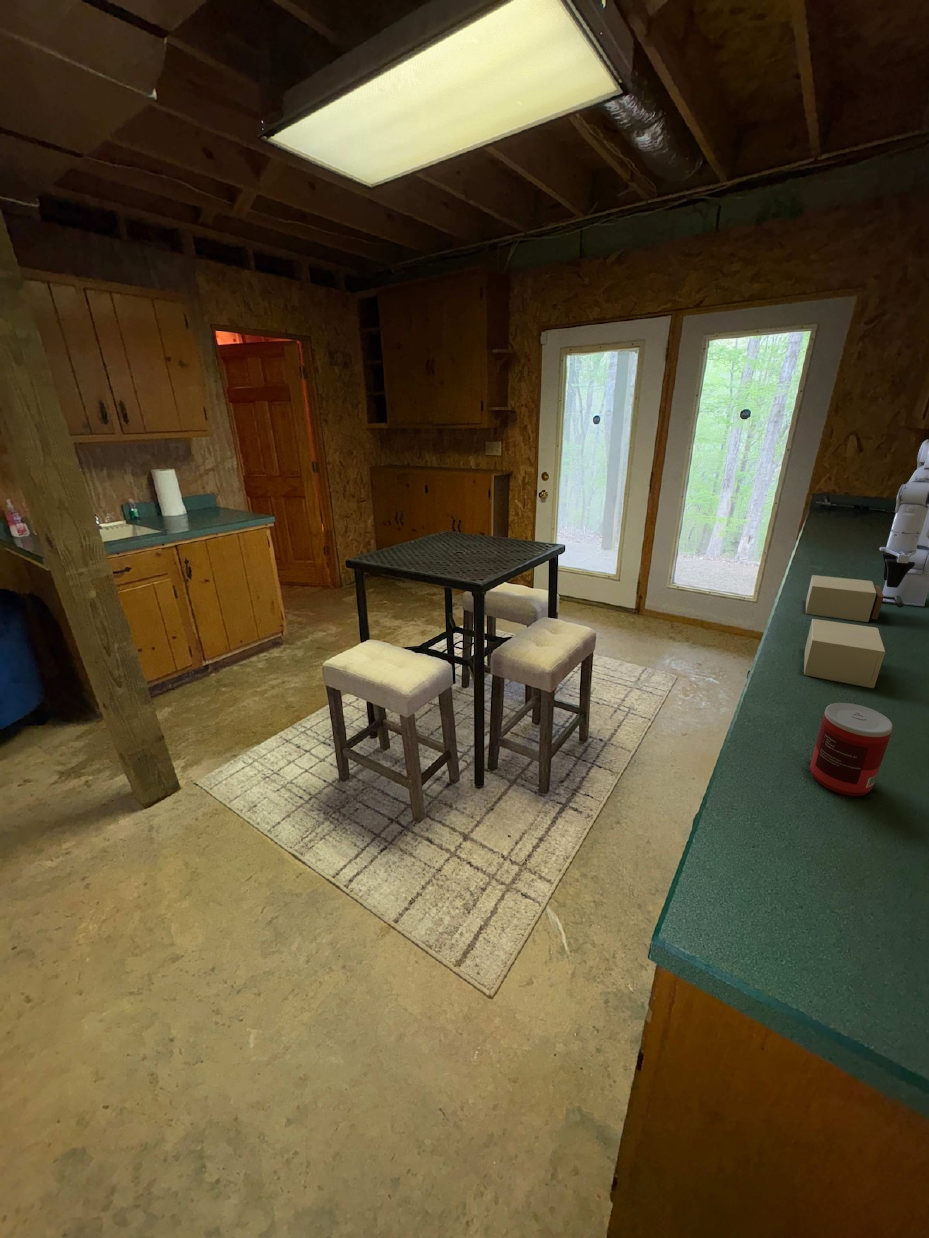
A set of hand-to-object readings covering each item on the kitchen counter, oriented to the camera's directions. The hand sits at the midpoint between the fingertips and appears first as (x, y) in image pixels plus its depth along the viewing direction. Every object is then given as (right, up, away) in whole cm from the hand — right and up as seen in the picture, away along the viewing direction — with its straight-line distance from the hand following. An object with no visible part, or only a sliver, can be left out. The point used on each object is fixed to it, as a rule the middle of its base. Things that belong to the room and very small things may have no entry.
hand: (890, 583), depth 126 cm
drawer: (-4, -7, +6) cm, 10 cm away
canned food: (-55, -34, -53) cm, 83 cm away
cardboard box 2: (-31, -20, -22) cm, 42 cm away
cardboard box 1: (-8, -7, +9) cm, 14 cm away
